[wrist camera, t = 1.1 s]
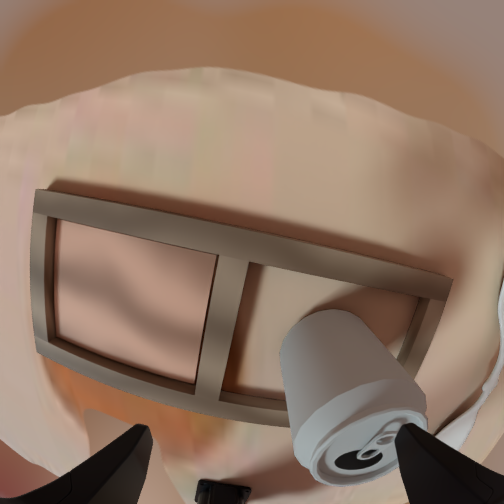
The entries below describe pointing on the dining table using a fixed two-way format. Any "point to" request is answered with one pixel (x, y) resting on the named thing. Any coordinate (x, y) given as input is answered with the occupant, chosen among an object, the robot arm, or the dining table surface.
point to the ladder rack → (179, 298)
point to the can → (345, 398)
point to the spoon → (464, 423)
